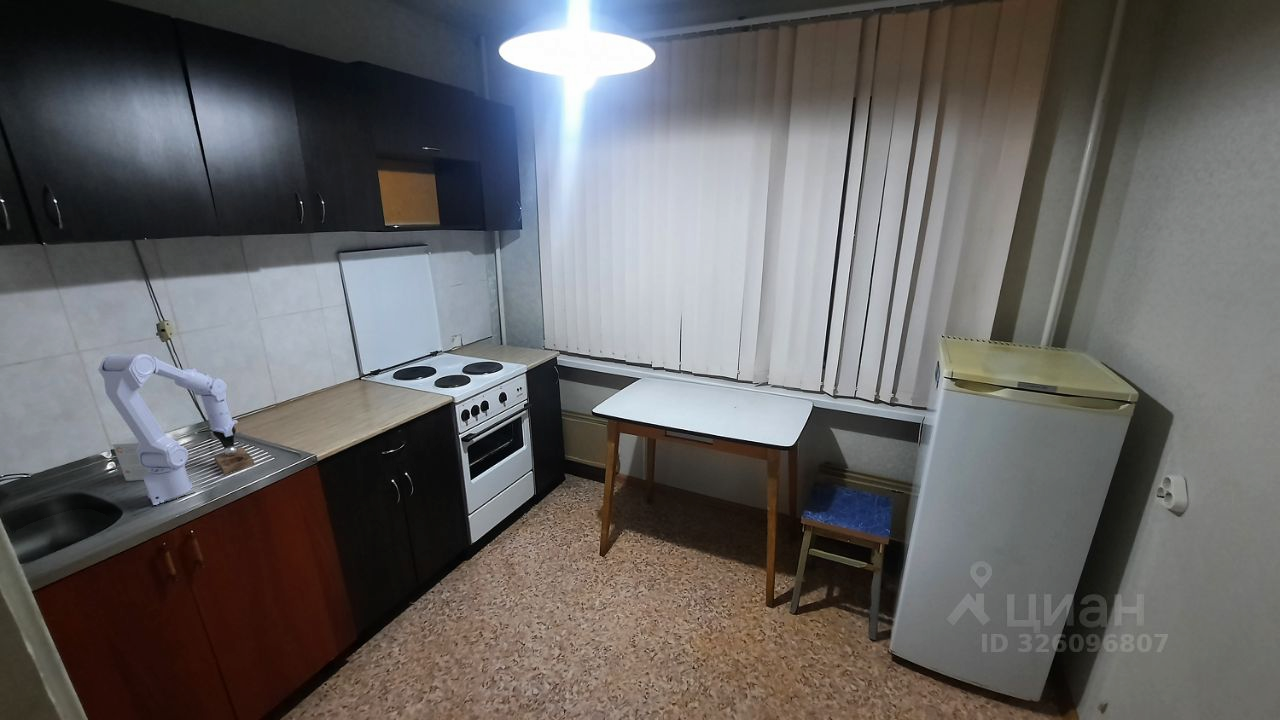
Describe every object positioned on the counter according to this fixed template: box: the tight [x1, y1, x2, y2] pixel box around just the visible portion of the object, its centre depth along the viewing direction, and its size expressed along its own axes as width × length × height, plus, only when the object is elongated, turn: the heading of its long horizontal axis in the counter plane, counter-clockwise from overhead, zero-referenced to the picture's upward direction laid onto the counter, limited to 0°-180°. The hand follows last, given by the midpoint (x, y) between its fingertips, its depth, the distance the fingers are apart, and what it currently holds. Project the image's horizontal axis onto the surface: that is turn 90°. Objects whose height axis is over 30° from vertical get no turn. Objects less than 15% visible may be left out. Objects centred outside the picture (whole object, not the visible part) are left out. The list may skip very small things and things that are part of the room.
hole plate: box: [213, 446, 255, 476], centre depth 166 cm, size 8×13×2 cm, turn 50°
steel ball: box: [223, 446, 238, 456], centre depth 167 cm, size 3×3×3 cm
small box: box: [111, 435, 151, 482], centre depth 158 cm, size 8×6×13 cm
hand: (229, 449), depth 168 cm, fingers closed, pressing on steel ball
